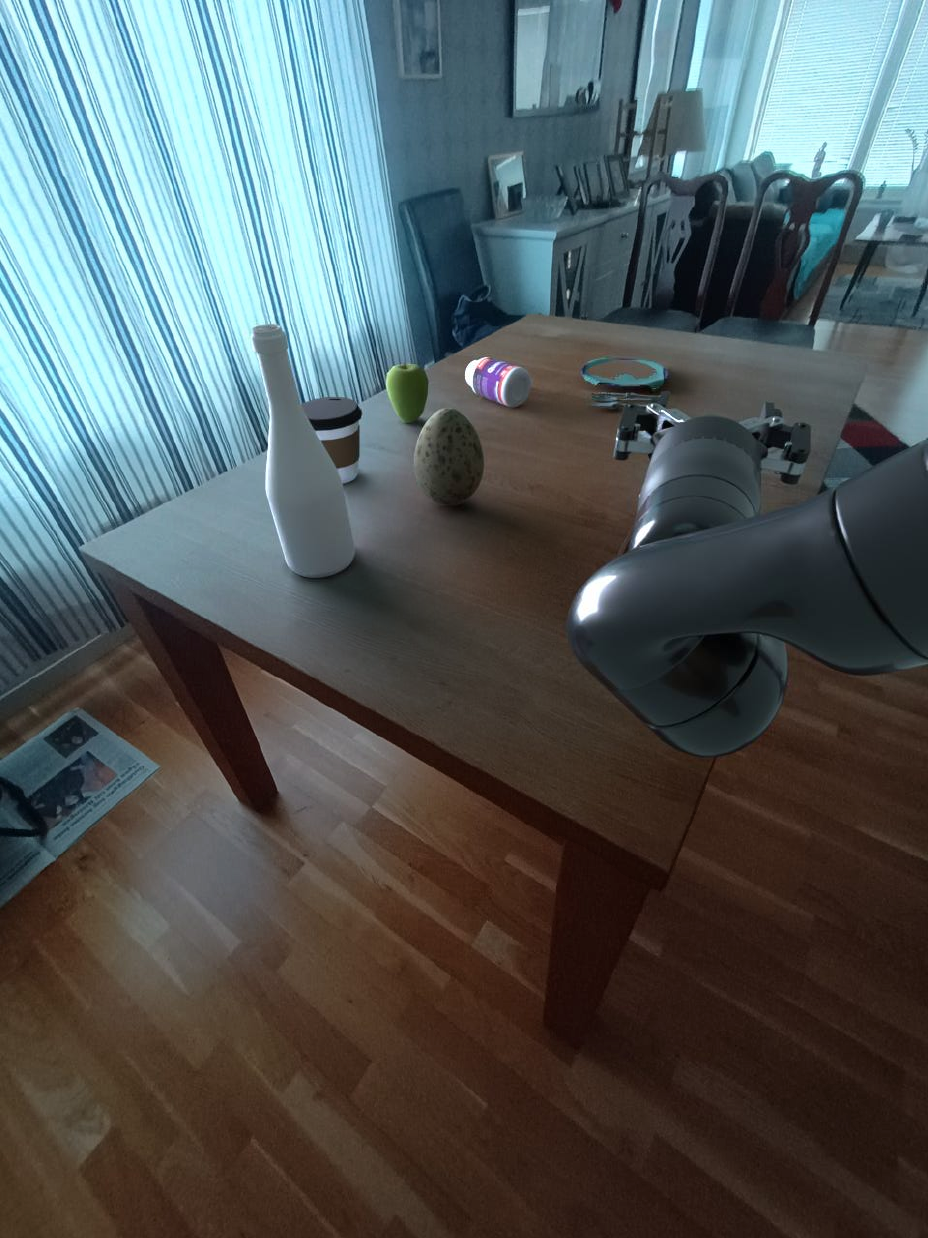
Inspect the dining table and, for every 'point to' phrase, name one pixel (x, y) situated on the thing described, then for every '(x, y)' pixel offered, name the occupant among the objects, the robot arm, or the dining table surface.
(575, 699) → the dining table surface
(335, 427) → the coffee cup
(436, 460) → the decorative egg
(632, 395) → the cutlery set
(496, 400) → the pill bottle
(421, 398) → the apple
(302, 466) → the wine bottle
